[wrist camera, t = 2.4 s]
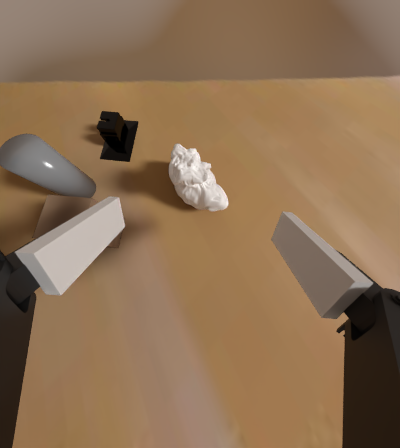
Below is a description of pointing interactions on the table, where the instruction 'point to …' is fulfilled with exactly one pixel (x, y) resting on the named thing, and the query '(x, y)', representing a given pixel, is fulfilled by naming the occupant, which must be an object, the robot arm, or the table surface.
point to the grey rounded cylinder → (45, 166)
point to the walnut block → (65, 214)
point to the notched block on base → (117, 136)
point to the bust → (195, 180)
